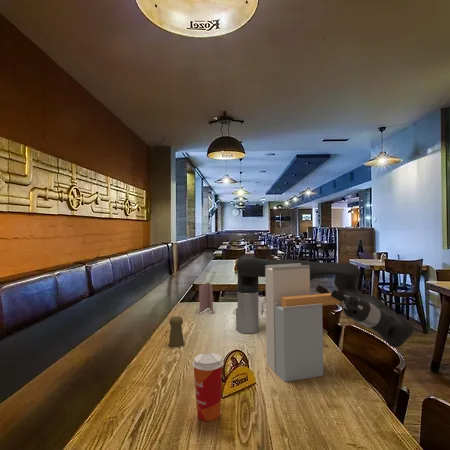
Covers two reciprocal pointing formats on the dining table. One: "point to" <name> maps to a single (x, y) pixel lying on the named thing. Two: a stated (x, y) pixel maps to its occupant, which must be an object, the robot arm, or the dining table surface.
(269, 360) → the tall pale grey pillar
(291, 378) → the grey box
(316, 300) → the bar
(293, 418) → the dining table surface
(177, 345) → the cork
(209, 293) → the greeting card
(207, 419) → the paper cup
